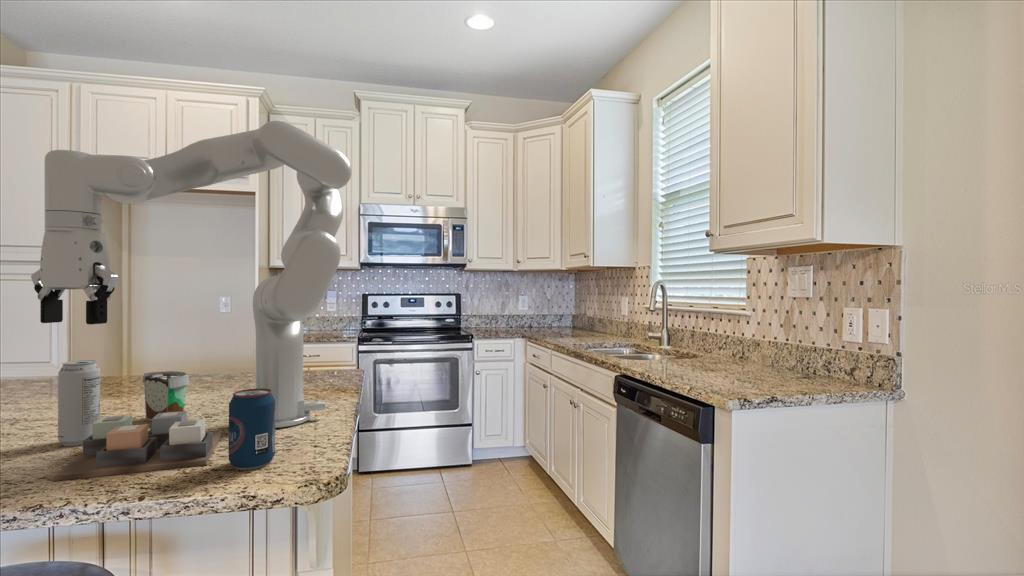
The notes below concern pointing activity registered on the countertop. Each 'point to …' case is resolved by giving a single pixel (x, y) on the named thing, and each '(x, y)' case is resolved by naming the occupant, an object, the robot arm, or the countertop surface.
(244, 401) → the soda can
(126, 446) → the terracotta key
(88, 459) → the keypad
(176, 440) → the ivory key
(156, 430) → the slate key
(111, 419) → the sage key
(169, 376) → the food container
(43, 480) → the countertop surface
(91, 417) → the energy drink can
